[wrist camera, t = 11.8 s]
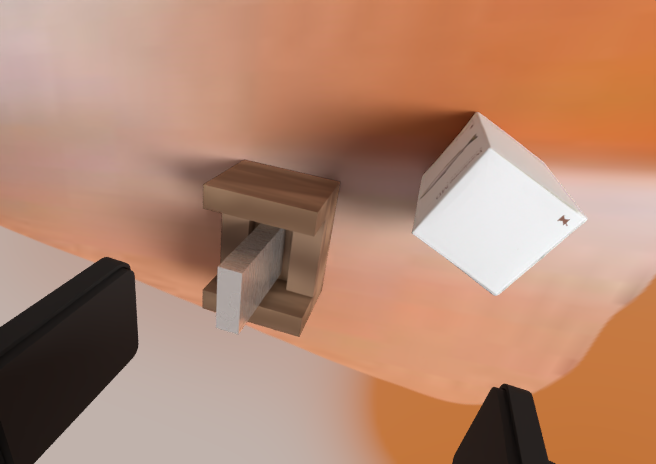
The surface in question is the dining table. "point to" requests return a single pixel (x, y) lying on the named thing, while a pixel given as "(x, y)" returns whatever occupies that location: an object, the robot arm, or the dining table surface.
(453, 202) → the supplement box
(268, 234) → the grey slab
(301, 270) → the wooden spool frame
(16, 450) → the robot arm
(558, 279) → the dining table surface
